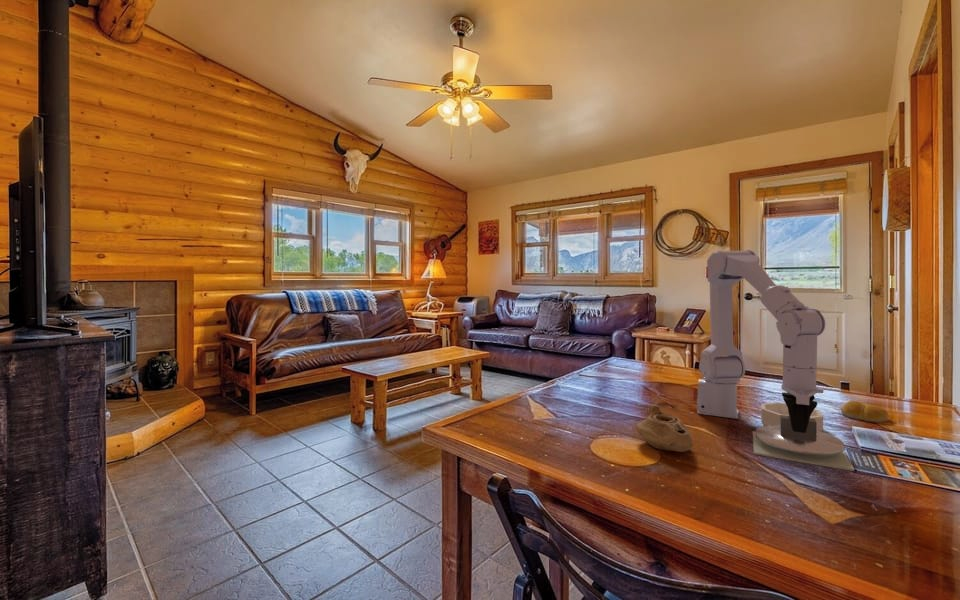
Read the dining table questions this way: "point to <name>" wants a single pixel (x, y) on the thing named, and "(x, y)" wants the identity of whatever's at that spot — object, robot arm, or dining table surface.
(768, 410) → the bowl
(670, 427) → the oil lamp
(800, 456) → the mat
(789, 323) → the robot arm
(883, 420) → the bread roll
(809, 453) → the lid
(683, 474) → the dining table surface
